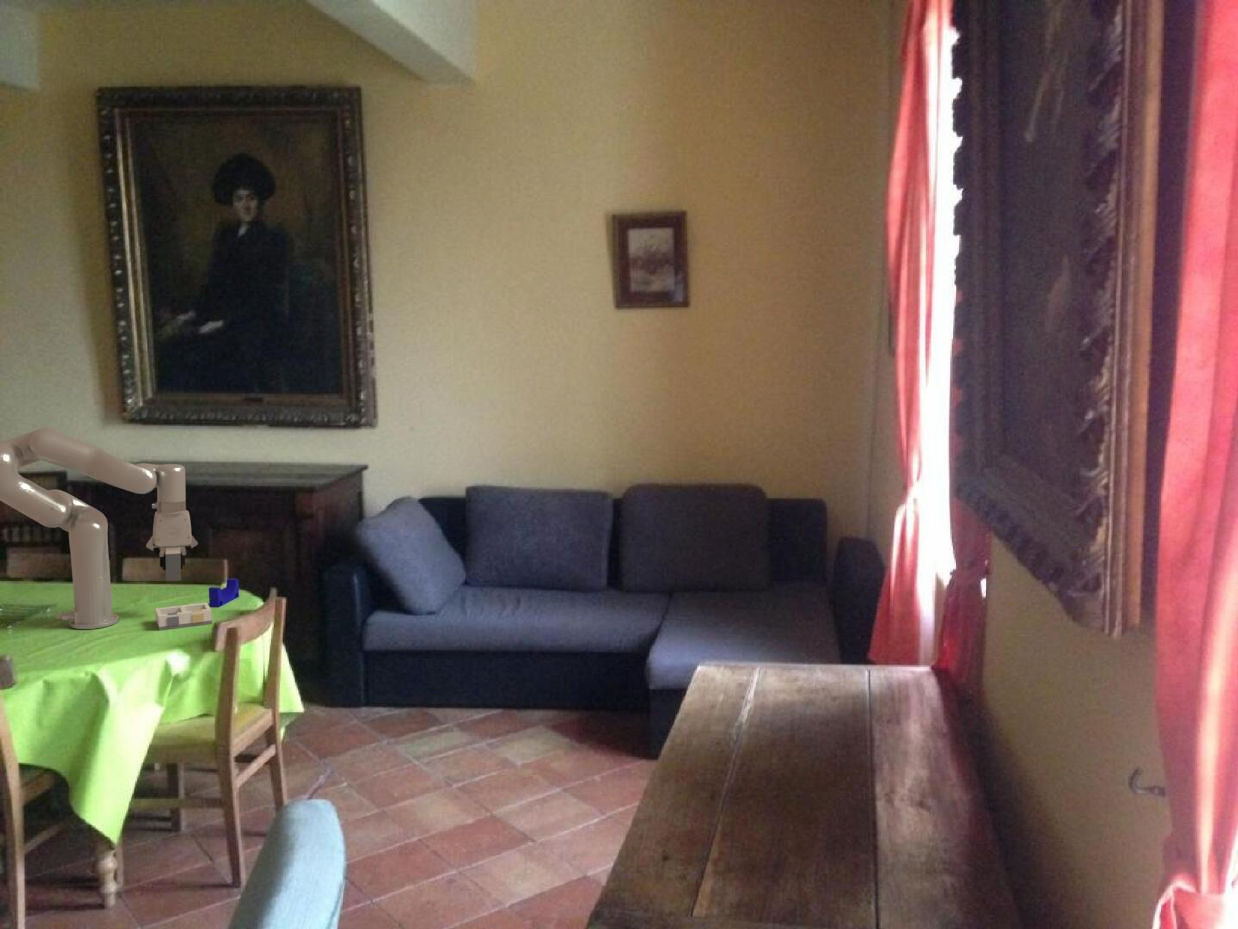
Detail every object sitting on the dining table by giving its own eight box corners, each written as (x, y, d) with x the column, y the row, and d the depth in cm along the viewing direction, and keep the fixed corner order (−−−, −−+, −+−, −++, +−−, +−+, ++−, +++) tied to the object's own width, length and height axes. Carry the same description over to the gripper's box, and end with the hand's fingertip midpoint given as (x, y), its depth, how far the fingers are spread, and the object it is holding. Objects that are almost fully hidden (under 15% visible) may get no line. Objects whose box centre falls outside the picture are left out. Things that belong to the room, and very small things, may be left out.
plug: (166, 581, 308) (165, 547, 306) (164, 578, 311) (163, 544, 310) (180, 580, 310) (180, 546, 308) (179, 577, 313) (178, 543, 312)
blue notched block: (225, 596, 333) (225, 578, 332) (239, 597, 332) (238, 578, 332) (205, 607, 321) (204, 588, 321) (218, 608, 321) (217, 588, 320)
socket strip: (159, 630, 297) (158, 616, 297) (155, 622, 305) (154, 607, 305) (212, 623, 304) (211, 609, 304) (207, 615, 312) (206, 601, 312)
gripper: (141, 510, 300) (142, 573, 303) (204, 507, 308) (204, 569, 311) (138, 506, 307) (140, 568, 309) (200, 503, 315) (201, 563, 317)
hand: (172, 568), depth 310 cm, fingers closed on plug, 4 cm apart
